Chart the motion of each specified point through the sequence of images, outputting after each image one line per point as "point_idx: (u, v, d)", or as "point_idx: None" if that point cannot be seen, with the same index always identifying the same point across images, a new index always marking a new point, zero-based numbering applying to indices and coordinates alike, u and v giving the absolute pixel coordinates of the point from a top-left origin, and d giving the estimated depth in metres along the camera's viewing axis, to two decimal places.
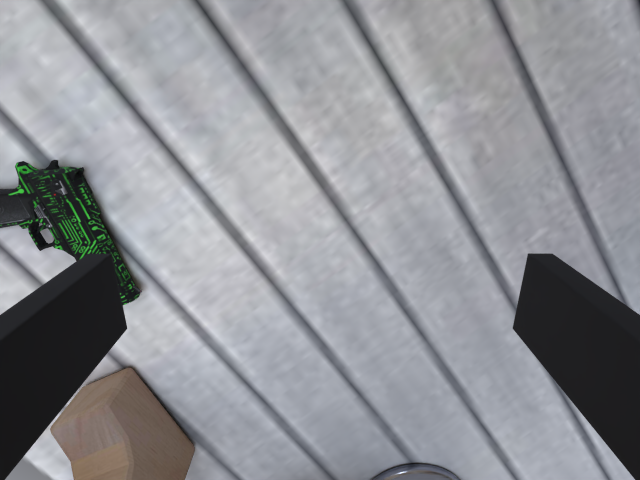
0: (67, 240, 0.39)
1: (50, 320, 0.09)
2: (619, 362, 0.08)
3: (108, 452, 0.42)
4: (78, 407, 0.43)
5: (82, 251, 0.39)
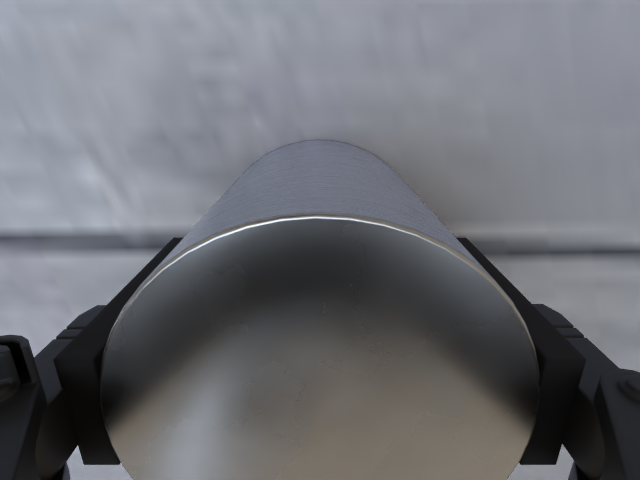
0: None
1: None
2: None
3: None
4: None
5: None
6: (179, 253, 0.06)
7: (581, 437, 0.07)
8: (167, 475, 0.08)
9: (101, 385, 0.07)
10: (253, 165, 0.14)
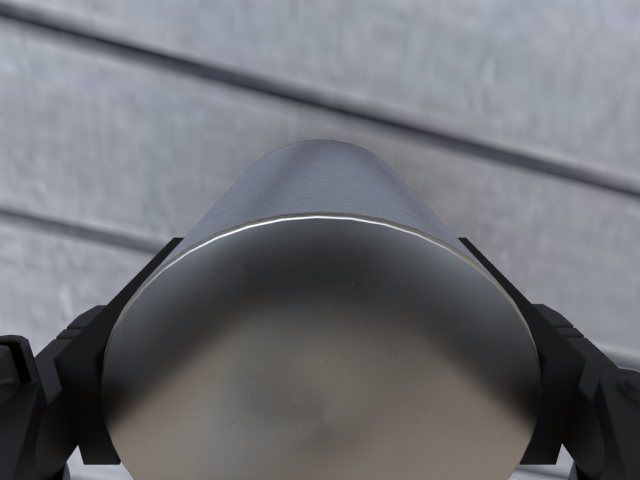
0: None
1: None
2: None
3: None
4: None
5: None
6: (181, 253, 0.06)
7: (581, 437, 0.07)
8: (168, 475, 0.08)
9: (102, 385, 0.07)
10: (254, 165, 0.14)
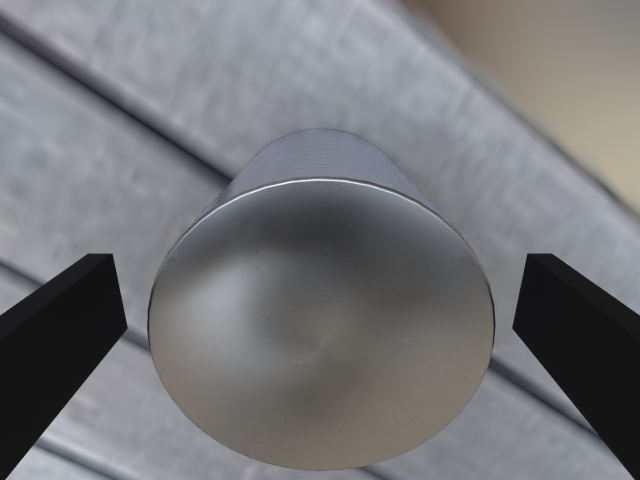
0: None
1: (51, 320, 0.09)
2: (618, 362, 0.08)
3: None
4: None
5: None
6: (213, 208, 0.08)
7: None
8: (198, 394, 0.10)
9: (149, 316, 0.09)
10: (262, 151, 0.16)
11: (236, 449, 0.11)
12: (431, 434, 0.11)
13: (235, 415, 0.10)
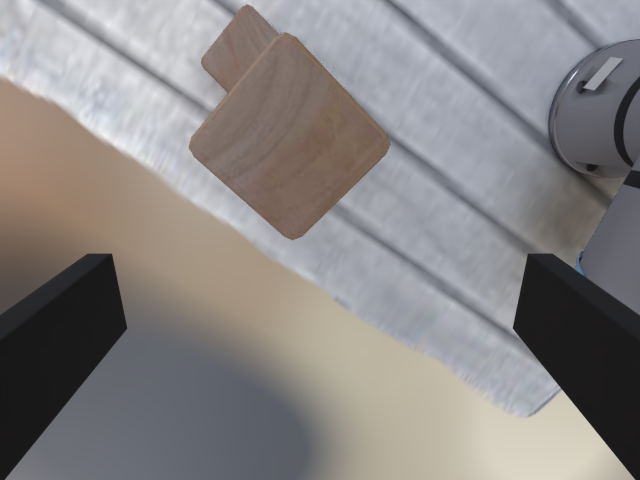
0: None
1: (50, 320, 0.09)
2: (619, 362, 0.08)
3: None
4: None
5: None
6: None
7: None
8: None
9: None
10: None
11: None
12: None
13: None
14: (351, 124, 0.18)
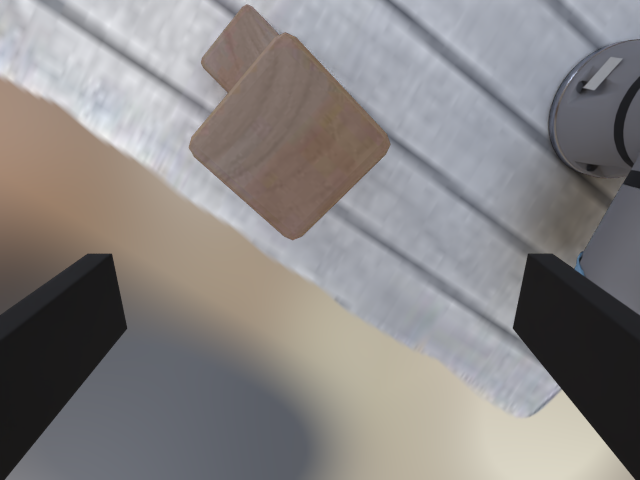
0: None
1: (50, 320, 0.09)
2: (619, 362, 0.08)
3: None
4: None
5: None
6: None
7: None
8: None
9: None
10: None
11: None
12: None
13: None
14: (351, 124, 0.18)
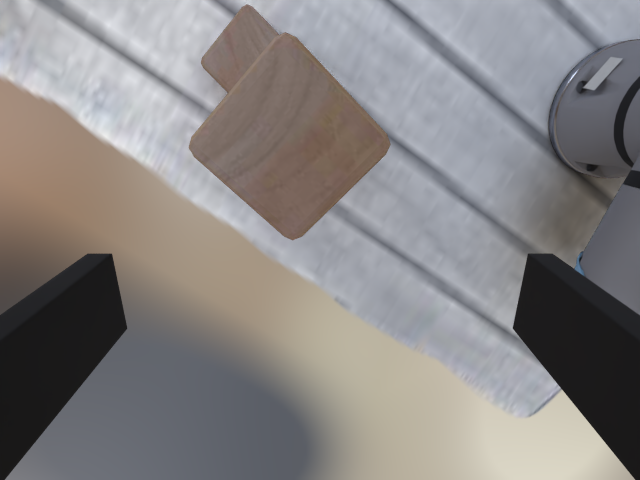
0: None
1: (50, 320, 0.09)
2: (619, 362, 0.08)
3: None
4: None
5: None
6: None
7: None
8: None
9: None
10: None
11: None
12: None
13: None
14: (351, 124, 0.18)
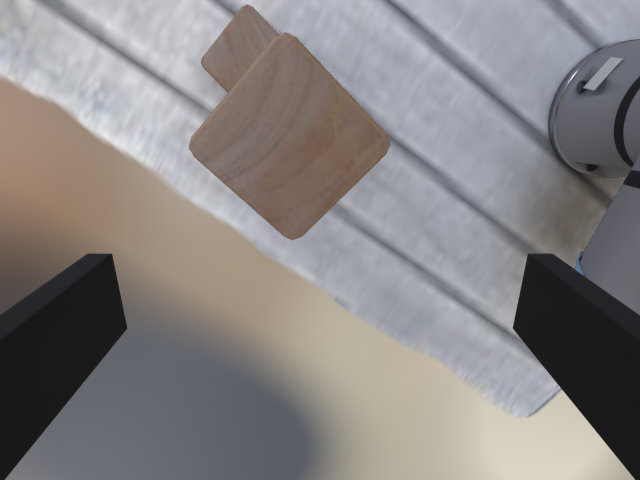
0: None
1: (50, 320, 0.09)
2: (619, 362, 0.08)
3: None
4: None
5: None
6: None
7: None
8: None
9: None
10: None
11: None
12: None
13: None
14: (351, 124, 0.18)
